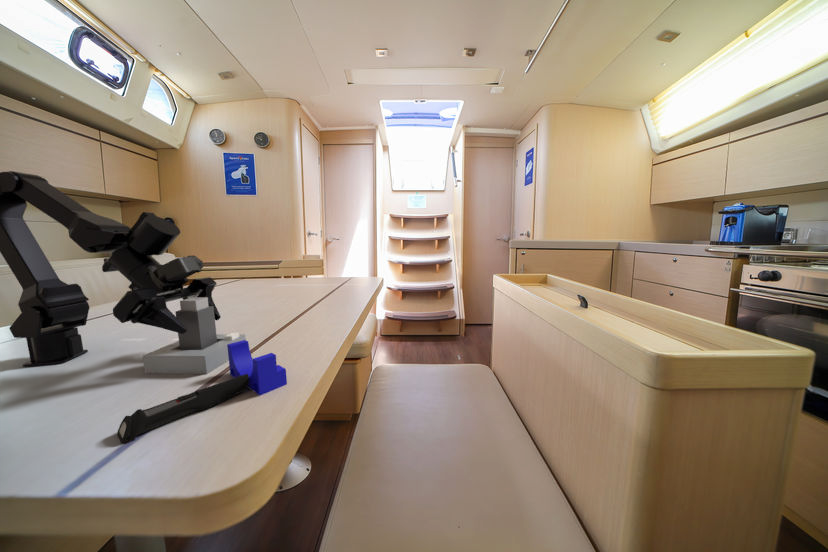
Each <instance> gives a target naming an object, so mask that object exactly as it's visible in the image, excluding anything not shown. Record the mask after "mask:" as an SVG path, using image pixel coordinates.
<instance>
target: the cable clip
mask: <svg viewBox="0 0 828 552" xmlns="http://www.w3.org/2000/svg"><path fill="white" fill-rule="evenodd" d="M227 347H228V357H229V360H228V365H229V373H230V376H231V377H232V378H235V377H238V376H241V375H244V374H248V375H249V380H248V386H247V388H248V389H250V390H251V391H253V392H254V393H256V394H257V395H258V396H259V397H261V396H263V395H265V394H268V393H270V392H272V391H274V390H277V389H280V388H282V387H284V386H287V385H288V382H287V381H288V379H287V369H286V368H285V367H283V366H281V365H280V364H277V355H276V354H275V353H273V352H270V353H267V354H263V355H260V356H258V357H253V356H252V354H251V353H252V352H251V350H250V344H249V341H248V340H243V341H239V342H235V343H231V344H227Z"/></svg>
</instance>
